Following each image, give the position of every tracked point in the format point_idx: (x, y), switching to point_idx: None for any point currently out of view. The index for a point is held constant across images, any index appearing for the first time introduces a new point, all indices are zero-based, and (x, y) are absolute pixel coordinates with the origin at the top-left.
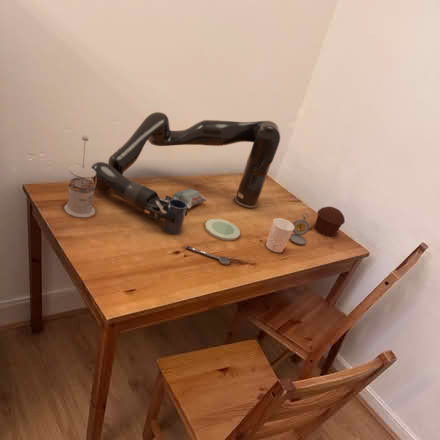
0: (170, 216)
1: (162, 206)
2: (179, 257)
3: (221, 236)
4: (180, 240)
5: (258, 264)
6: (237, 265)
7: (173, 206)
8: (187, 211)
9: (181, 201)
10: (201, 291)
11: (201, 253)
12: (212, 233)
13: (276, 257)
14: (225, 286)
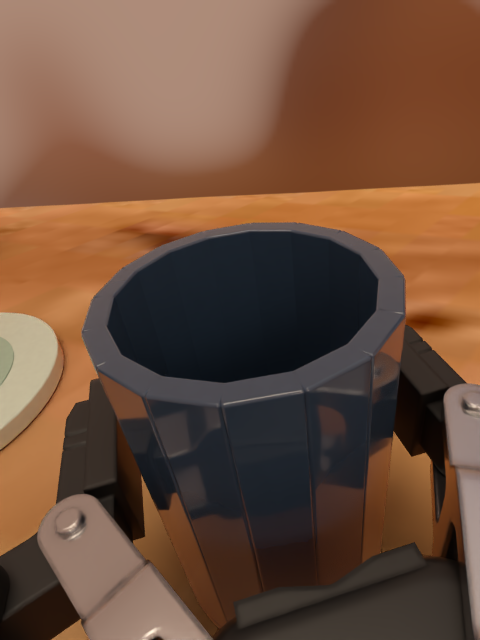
0: (404, 347)
1: (412, 582)
2: (430, 295)
3: (47, 332)
4: None
5: (114, 227)
6: (193, 233)
7: (372, 254)
8: (97, 382)
9: (107, 331)
10: (440, 187)
11: None
12: (54, 367)
13: (12, 237)
14: (333, 191)
